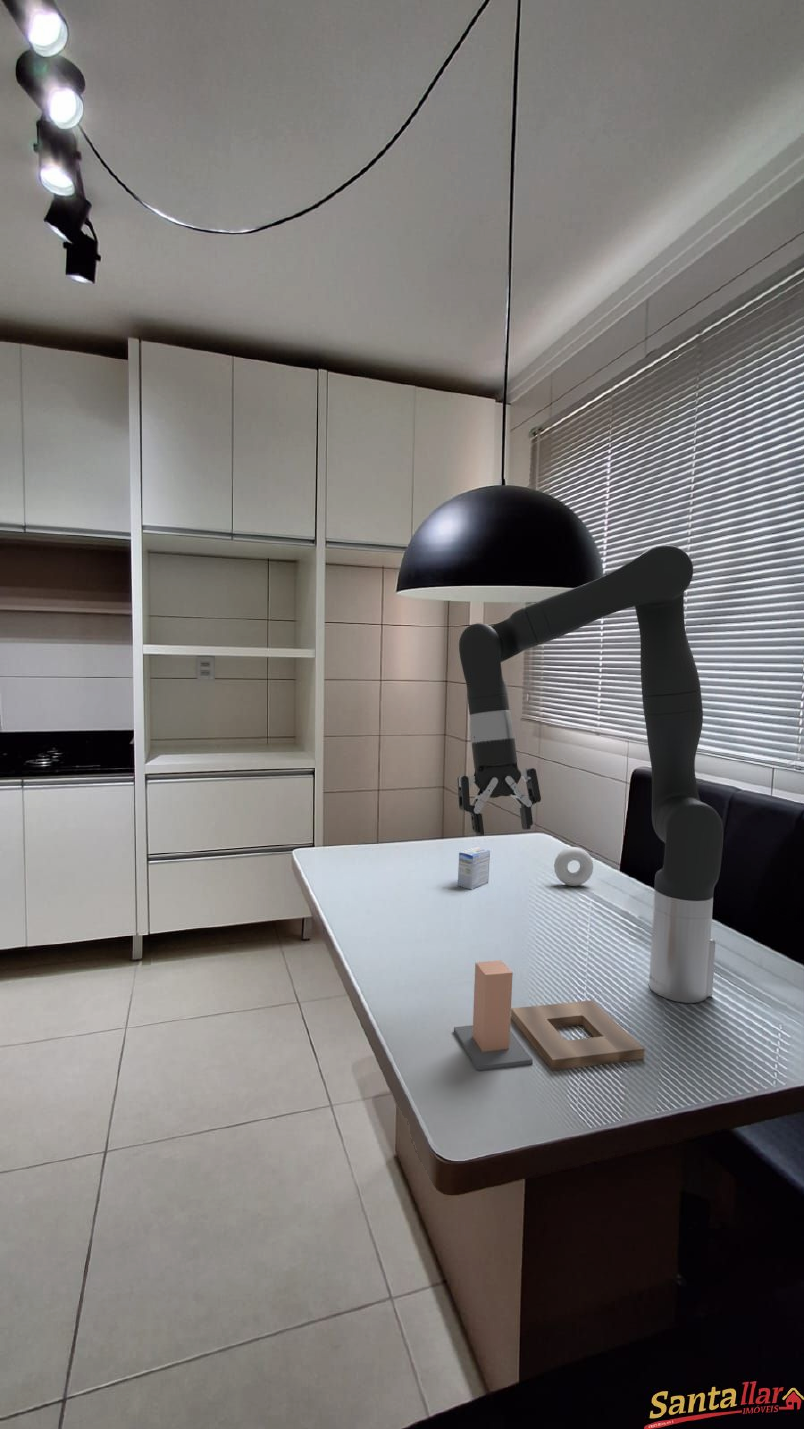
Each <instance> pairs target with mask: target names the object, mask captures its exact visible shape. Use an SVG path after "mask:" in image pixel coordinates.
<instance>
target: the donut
mask: <svg viewBox="0 0 804 1429" xmlns="http://www.w3.org/2000/svg"><path fill="white" fill-rule="evenodd" d="M572 861H576V862H578V864H579V868H578V870H576V871H575V872H571V871H570V870H569V869H568V866H569V864H570V863H571V862H572ZM593 862H594V861H593V859H592V856H591V855H590V853H588V852H587V851H586V850H585V849H583V848H581V847H577V846H571V847H567V848H565V849H562V850H561V851H560V852H558V854H557V856H556V858H554V864H553V868H554V873H555V875H556V877H557V879H558V880H559V881H560V882H561V883H562V884H565V885H566V886H571V887H579V886H581V885H583V884H585V883H587V881H589V879H590V878H591V876H592V875H593V872H594V863H593Z"/></svg>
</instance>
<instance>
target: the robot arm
mask: <svg viewBox="0 0 804 1429" xmlns="http://www.w3.org/2000/svg"><path fill="white" fill-rule="evenodd" d="M693 576H694V564H693V561H692V559H691V557H690V556H689V554H688V553H687V552H686V551H684V550H683V549H682V548H680V547H678V546H675V545H672V544H661V545H660V544H658V545H655V546H652V547H650V548H648V549H646V550H645V551H643V552H642V553H641V554H640V555H639V556H637V557H635V558H634V559H633V560H630V561H629V562H627V563H625V564H623V565H622V566H620V567H619V568H617V569H615V570H613V571H611V572H610V573H609V572H608V573H607V574H605V575H603V576H601V577H599V578H596V579H594V580H592V581H589V582H587V583H585V584H582V585H579V586H577V587H574V588H571V589H568V590H565V591H563V592H560V593H558V594H554V595H552V596H549V597H547V598H543V599H542V600H539V601H537V602H534V603H532V604H530V605H526V606H524V607H522V608H519V609H518V610H516V611H513V612H512V614H510V616H509V617H508V618H507V619H504V620H503V621H499V622H498V623H494V624H493V625H491V626H490V625H488V624H485V623H480V622H479V623H478V622H477V623H472V624H471V625H469V626H467V627H466V628H465V629H464V630H463V632H462V633H461V635H460V637H459V641H458V651H459V658H460V665H461V668H462V672H463V677H464V680H465V684H466V689H467V690H466V692H467V695H466V696H467V705H468V706H467V707H468V714H469V741H470V743H471V744H470V745H471V751H472V759H473V760H472V761H473V768H474V772H473V773H474V774H473V775H469V776H467V775H460V776H458V777H457V792H458V795H457V796H458V809H459V810H460V811H463V812H467V813H469V815H470V820H471V828H472V831H473V833H475V834H476V836H479V837H481V836H485V830H484V821H483V813H481V811H482V810H483V808H484V806H485V804H486V803H487V802H488V800H489V799H495V798H499V797H511V798H513V799H515V801H516V802H517V803H518V804H519V805H520V808H519V816H520V821H521V829H523V830H525V831H528V830H531V828H532V827H531V826H533V823H534V819H533V814H532V813H533V812H532V807H533V806H534V805H535V804H537V803H540V802H541V800H542V797H541V796H542V795H541V791H540V785H539V779H538V774H537V770H536V768H533V767H529V768H525V769H522V770H520V769H519V767H518V756H517V748H516V738H515V731H514V725H513V718H512V716H511V711H510V704H509V696H508V688H507V685H506V682H505V679H504V677H503V670H502V664H501V663H504V662H505V661H506V660H509V659H511V658H513V657H515V656H517V655H519V654H520V653H522V652H524V651H525V650H528V649H531V648H535V647H538V646H540V645H542V644H546V643H548V642H550V641H553V640H556V639H558V638H561V637H563V636H565V635H568V634H569V633H573V632H574V631H576V630H578V629H581V628H583V627H585V626H587V625H589V624H592V623H593V622H595V621H598V620H600V619H602V618H604V617H606V616H609V615H612V614H615V613H618V612H619V611H623V610H626V609H629V608H633V607H634V609H635V614H636V620H637V624H638V629H639V637H640V642H639V643H640V649H639V650H640V656H639V657H640V682H641V698H642V707H643V716H644V722H645V728H646V729H645V730H646V738H647V747H648V754H649V759H650V765H651V766H650V767H651V822H652V827H653V829H654V832H655V834H656V836H658V837H657V838H659V839H660V840H661V841H662V842H663V843H664V845H665V846H664V857H663V865H662V868H661V869H659V870H657V871H656V872H655V875H654V890H653V909H652V926H651V927H652V928H651V946H650V957H649V958H650V960H649V961H650V962H649V974H648V976H649V979H648V985H649V988H650V990H652V992H654V993H655V994H657V995H658V996H660V997H662V998H665V999H667V1000H671V1001H673V1002H679V1003H686V1004H694V1003H695V1004H696V1003H700V1002H703V1001H705V1000H706V999H707V998H708V997H712V996H713V991H714V974H715V958H716V945H717V944H716V940H715V939H714V938H711V937H712V936H711V935H712V923H713V922H712V921H713V906H714V904H713V903H714V891H715V886H716V885H717V884H718V881H719V878H720V873H721V868H722V866H721V864H722V856H723V847H724V846H723V845H724V825H723V820H722V818H721V817H720V814H719V813H718V812H717V810H716V809H714V808H713V807H712V806H710V805H708V804H707V803H705V802H702V801H701V800H700V796H699V790H698V785H697V779H696V778H697V777H696V767H695V766H696V764H695V763H696V756H697V752H698V751H697V750H698V746H699V744H700V738H701V736H702V735H701V734H702V729H703V722H704V708H703V701H702V700H703V699H702V690H701V689H702V688H701V682H700V681H701V680H700V677H699V674H698V673H699V672H698V669H697V665H696V661H695V659H694V655H693V652H692V649H691V646H690V643H689V640H688V637H687V633H686V626H685V605H684V603H685V601H684V599H685V591H686V590H687V589H688V588H689V586H690V584H691V582H692V580H693ZM521 778H522V780H523V781H524V782H525V783H526V790H527V795H526V792H524V790H523V789H522V788H521V786H519V785H518V784H519V782H520V780H521ZM473 784H475V785H476V786H477V788H478V790H477V792H476V794H475V796H474V797H473V798H474V799H473V801H472V802H471V799H470V798H471V797H470V789H472V786H473Z"/></svg>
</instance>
